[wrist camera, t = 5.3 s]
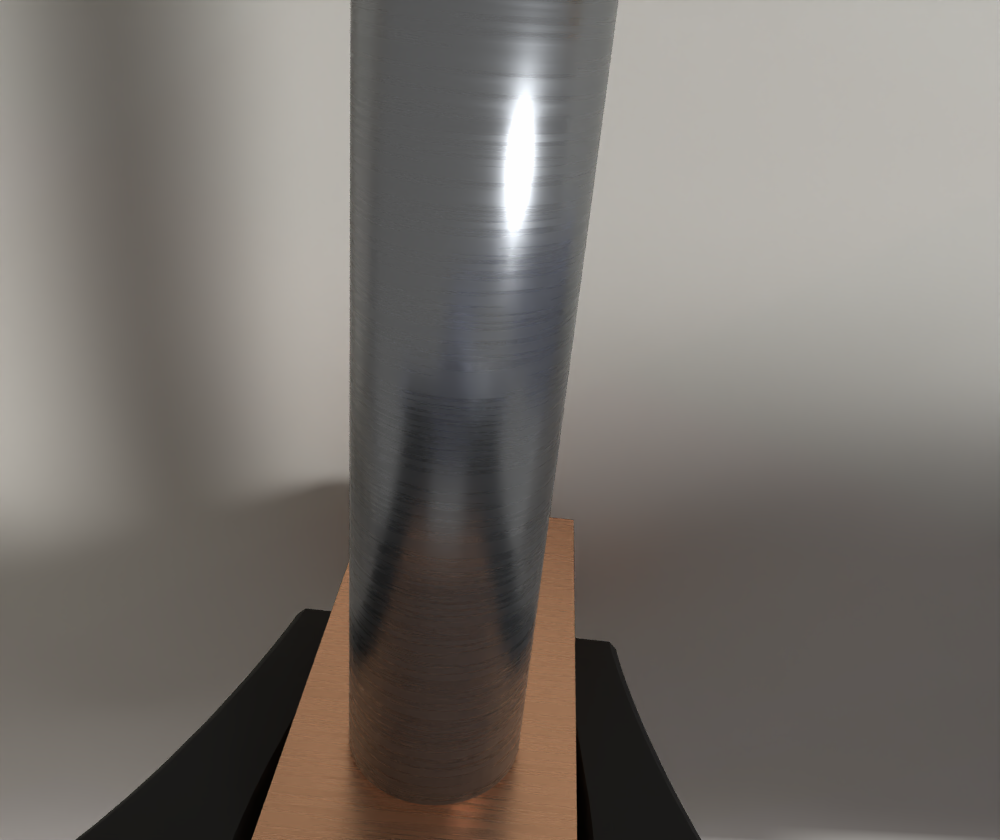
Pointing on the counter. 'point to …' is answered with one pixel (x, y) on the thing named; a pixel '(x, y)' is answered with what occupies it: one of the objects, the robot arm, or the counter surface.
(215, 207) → the counter surface
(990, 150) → the counter surface
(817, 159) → the counter surface
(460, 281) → the hook pin
